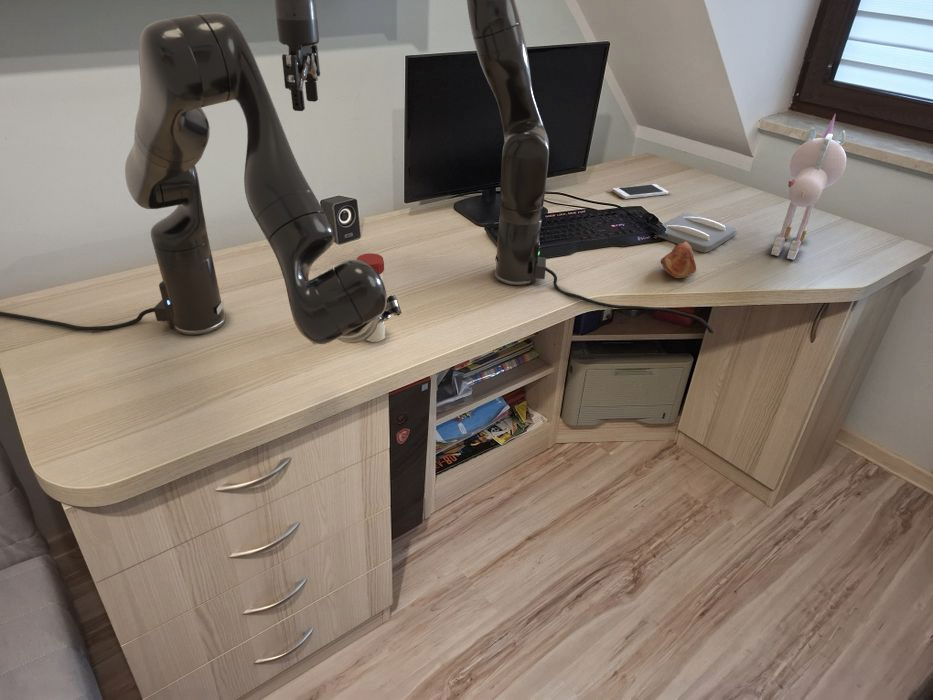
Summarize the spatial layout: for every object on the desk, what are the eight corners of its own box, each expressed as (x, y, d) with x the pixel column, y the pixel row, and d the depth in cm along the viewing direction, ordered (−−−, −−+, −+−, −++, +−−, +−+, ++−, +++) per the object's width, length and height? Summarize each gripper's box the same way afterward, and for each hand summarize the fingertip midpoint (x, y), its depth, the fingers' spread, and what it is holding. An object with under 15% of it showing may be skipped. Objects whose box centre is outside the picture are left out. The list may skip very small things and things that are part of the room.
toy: (826, 222, 178) (867, 110, 161) (806, 269, 152) (852, 142, 135) (779, 212, 183) (814, 103, 167) (751, 256, 157) (789, 132, 141)
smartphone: (611, 191, 194) (612, 187, 193) (654, 186, 199) (655, 183, 198) (624, 199, 188) (625, 196, 188) (668, 194, 193) (668, 191, 193)
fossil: (669, 273, 140) (675, 228, 140) (641, 275, 147) (646, 232, 147) (707, 283, 147) (712, 240, 147) (678, 285, 154) (683, 244, 154)
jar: (364, 342, 120) (358, 266, 111) (363, 331, 123) (358, 256, 115) (385, 341, 121) (382, 265, 112) (384, 330, 124) (381, 255, 115)
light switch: (708, 241, 156) (653, 223, 165) (705, 253, 158) (650, 234, 167) (740, 223, 167) (687, 206, 176) (737, 234, 169) (684, 217, 178)
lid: (357, 277, 112) (356, 265, 111) (357, 265, 116) (356, 253, 115) (384, 276, 113) (384, 264, 111) (383, 264, 117) (383, 252, 115)
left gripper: (390, 271, 88) (391, 287, 104) (290, 306, 86) (307, 316, 102) (408, 322, 88) (407, 330, 104) (309, 358, 86) (323, 360, 102)
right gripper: (303, 21, 114) (313, 115, 123) (327, 12, 125) (334, 99, 134) (263, 19, 114) (275, 113, 123) (290, 10, 126) (299, 96, 135)
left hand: (357, 323), depth 103 cm, fingers open, 8 cm apart
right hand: (306, 105), depth 129 cm, fingers open, 8 cm apart
